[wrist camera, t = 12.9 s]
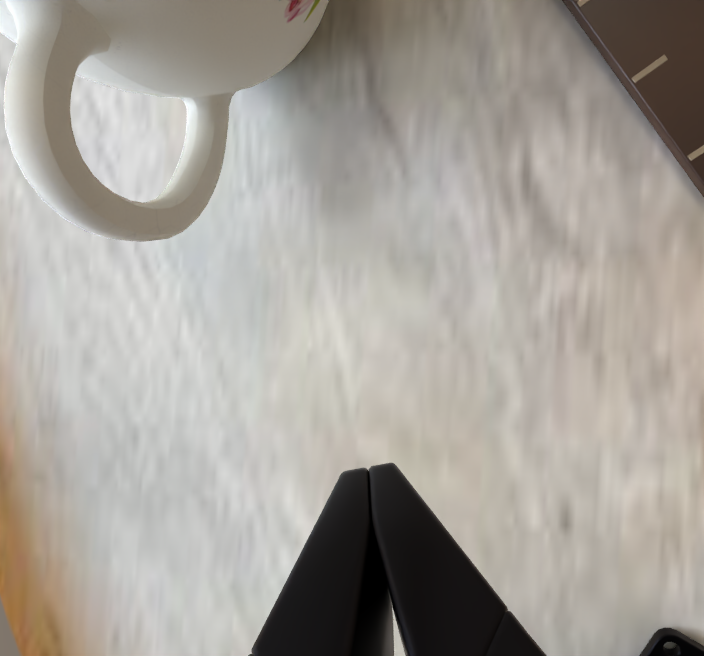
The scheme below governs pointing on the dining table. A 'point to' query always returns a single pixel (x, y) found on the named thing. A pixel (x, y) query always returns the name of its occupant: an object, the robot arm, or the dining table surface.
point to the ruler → (656, 65)
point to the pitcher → (139, 91)
